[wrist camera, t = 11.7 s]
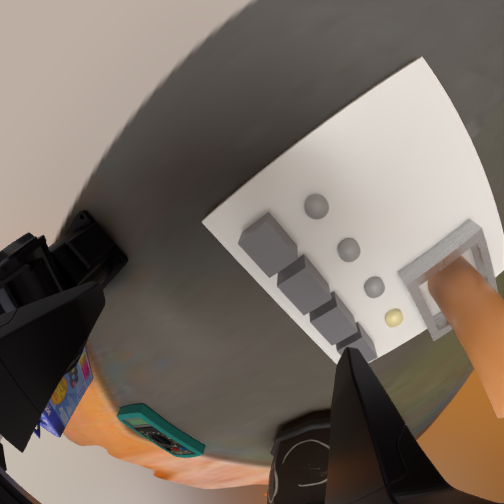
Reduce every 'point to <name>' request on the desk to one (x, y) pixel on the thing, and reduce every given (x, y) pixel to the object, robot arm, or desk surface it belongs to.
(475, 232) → the socket collar
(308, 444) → the black drum container
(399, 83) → the breaker panel
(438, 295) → the plug
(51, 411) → the ink cartridge box
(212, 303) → the desk surface
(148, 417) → the digital multimeter
